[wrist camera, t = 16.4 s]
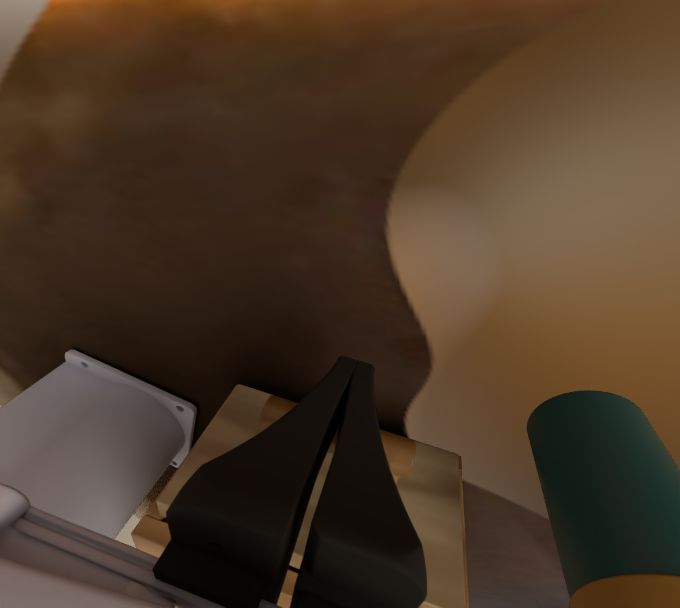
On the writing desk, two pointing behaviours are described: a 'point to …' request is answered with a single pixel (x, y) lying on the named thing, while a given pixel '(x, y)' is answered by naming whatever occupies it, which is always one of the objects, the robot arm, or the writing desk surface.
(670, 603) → the tea tin
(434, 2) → the writing desk surface
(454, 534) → the drawer
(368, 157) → the writing desk surface
